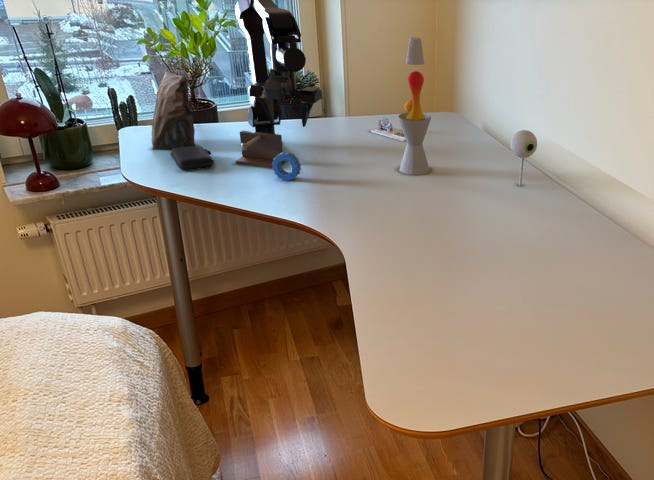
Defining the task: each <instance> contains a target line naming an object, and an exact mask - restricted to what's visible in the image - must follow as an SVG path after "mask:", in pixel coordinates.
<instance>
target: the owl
mask: <svg viewBox="0 0 654 480" xmlns="http://www.w3.org/2000/svg"><path fill="white" fill-rule="evenodd" d="M187 82H188V77H186V76H185V75H180V74H174V73H173V72H172V71H168V70H166V71H165V73H164V75H163V76H162V79H161V82H160V84H159V87H158V88H157V91H156V96H155V105H154V110H153V116H152V122H151V145H152V150H153V151H154V150H159V151H160V150H161V151H172V150H173V149H174V148H182V147H193V146H197V145H196V144H195V133H196V132H195V131H196V129H195V126H194V117H193V113H192V104H191V101H190V99H189V87H188V83H187Z"/></svg>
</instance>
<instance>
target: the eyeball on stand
mask: <svg viewBox="0 0 654 480" xmlns="http://www.w3.org/2000/svg"><path fill="white" fill-rule="evenodd" d="M537 147H538V139H537V137H536V135H535V134H534V133H533V132H532V131H531V130H526V129H522V130H519V131H517V132H516V133H514V134H513V136H512V137H511V139H510V149H511V151H512V153H513V154H514V155H515V156H516V157H518V158H521V159H520V170H519V182H518V186H519V187H521V186H522V183H523V172H524V161H525V159H526V158H529V157H531V156H533V155H534V153H535V152H536V151H537Z"/></svg>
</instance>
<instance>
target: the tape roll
mask: <svg viewBox="0 0 654 480" xmlns="http://www.w3.org/2000/svg"><path fill="white" fill-rule="evenodd" d="M282 160H285V161H286V162H287V163H289V165H290V167H291V171H287V170H285V169H284V168H283V166H282V165H283V164H281V161H282ZM272 166H273V167H272V168H271V169H272V171H273V172H274V175H276V177H277V179H279V180H280V179H281V180H282V181H286V182H290V181H293V180H294V179H295V178H296V177H298V175H300V174H301V170H302V167H301V166H302V163H301V162H300V159H299V158H298V157H297V156H296V155H295V154H294V153H292V152H290V151H288V152H287V151H283V153H280V154H278V155H277V156H276V157H275V158H274V159H273V162H272Z"/></svg>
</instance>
